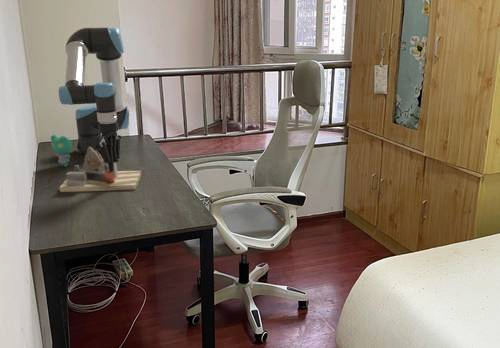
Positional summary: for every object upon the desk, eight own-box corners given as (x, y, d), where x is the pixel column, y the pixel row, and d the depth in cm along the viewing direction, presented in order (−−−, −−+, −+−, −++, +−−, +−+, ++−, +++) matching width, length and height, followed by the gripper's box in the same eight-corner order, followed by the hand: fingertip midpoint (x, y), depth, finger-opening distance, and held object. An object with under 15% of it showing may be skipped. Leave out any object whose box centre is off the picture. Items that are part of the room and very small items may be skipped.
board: (72, 177, 218) (70, 161, 216) (141, 174, 220) (140, 159, 218) (60, 192, 200) (57, 175, 198) (135, 189, 202) (134, 173, 200)
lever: (83, 175, 213) (82, 166, 211) (116, 181, 205) (115, 171, 204) (77, 177, 210) (76, 168, 208) (110, 183, 202) (109, 173, 201)
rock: (113, 158, 223) (98, 156, 217) (106, 179, 225) (90, 177, 219) (98, 146, 232) (83, 144, 225) (91, 166, 234) (76, 164, 228)
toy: (50, 166, 232) (46, 135, 228) (63, 162, 239) (60, 132, 235) (64, 169, 228) (60, 137, 224) (77, 164, 235) (74, 134, 231)
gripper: (106, 125, 192) (112, 183, 199) (124, 118, 203) (130, 173, 211) (89, 124, 194) (97, 181, 202) (109, 118, 206) (115, 171, 213)
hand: (114, 177), depth 206 cm, fingers closed
